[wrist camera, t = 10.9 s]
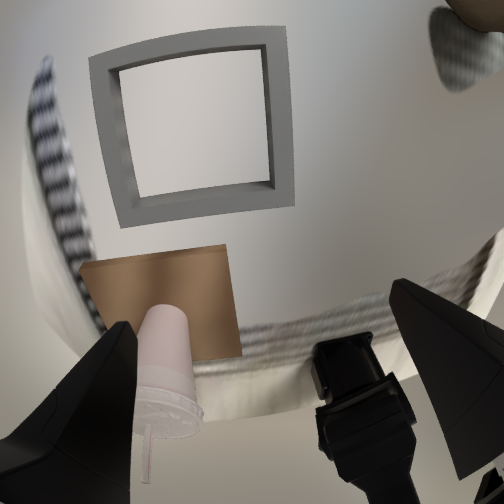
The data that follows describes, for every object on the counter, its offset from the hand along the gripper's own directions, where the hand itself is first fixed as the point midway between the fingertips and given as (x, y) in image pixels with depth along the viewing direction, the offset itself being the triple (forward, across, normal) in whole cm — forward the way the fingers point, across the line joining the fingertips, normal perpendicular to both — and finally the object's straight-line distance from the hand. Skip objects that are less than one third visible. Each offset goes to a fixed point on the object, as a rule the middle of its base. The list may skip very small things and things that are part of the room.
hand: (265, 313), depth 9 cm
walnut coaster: (+12, +8, +10) cm, 17 cm away
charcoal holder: (+12, +2, -5) cm, 13 cm away
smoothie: (+11, +8, +10) cm, 17 cm away
